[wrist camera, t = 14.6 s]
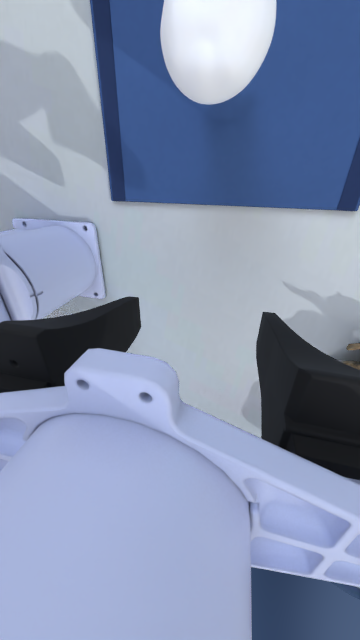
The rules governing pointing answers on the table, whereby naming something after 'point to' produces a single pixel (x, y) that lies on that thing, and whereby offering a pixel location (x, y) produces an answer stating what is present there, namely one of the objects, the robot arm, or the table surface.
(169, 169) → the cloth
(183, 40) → the milkshake
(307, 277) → the table surface
